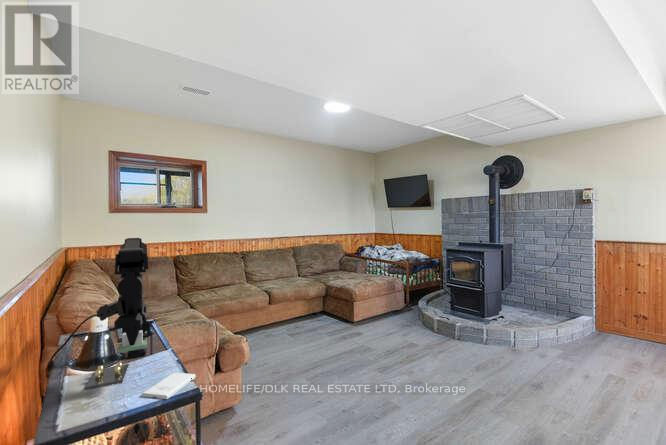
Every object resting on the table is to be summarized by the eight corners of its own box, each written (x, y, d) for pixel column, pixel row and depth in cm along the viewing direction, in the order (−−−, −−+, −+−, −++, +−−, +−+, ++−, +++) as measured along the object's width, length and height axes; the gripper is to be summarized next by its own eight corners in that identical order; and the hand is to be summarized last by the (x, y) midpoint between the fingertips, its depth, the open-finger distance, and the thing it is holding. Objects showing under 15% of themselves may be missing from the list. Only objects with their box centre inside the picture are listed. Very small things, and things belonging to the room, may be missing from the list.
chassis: (96, 371, 105) (96, 361, 105) (128, 366, 109) (128, 356, 109) (85, 389, 93) (85, 378, 93) (122, 382, 97) (122, 371, 97)
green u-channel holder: (120, 347, 96) (119, 332, 96) (146, 342, 99) (146, 328, 99) (117, 352, 92) (117, 337, 92) (146, 348, 95) (145, 332, 95)
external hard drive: (195, 379, 99) (167, 401, 87) (172, 377, 101) (141, 398, 89) (195, 374, 99) (167, 395, 87) (172, 372, 101) (141, 392, 89)
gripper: (106, 288, 101) (107, 338, 101) (90, 301, 84) (91, 360, 84) (146, 285, 105) (147, 332, 105) (139, 296, 89) (141, 352, 88)
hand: (132, 343), depth 96 cm, fingers closed on green u-channel holder, 2 cm apart
